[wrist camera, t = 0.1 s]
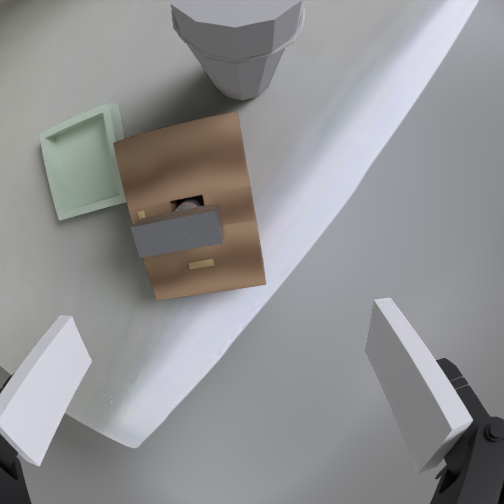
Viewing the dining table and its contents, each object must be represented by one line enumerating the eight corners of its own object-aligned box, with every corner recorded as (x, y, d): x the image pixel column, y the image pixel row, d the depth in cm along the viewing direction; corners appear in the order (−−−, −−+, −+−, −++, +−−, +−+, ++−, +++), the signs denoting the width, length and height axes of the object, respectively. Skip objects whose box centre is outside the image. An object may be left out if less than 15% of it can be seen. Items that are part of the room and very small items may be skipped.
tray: (51, 132, 33) (39, 133, 30) (118, 104, 32) (108, 102, 29) (69, 214, 37) (59, 221, 35) (137, 196, 37) (129, 201, 34)
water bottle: (255, 113, 33) (271, 67, 10) (199, 85, 32) (117, 8, 9) (292, 55, 30) (361, -52, 7) (237, 28, 29) (223, -102, 6)
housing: (132, 140, 34) (112, 142, 28) (238, 115, 33) (236, 111, 28) (167, 278, 42) (156, 300, 36) (263, 263, 41) (266, 285, 35)
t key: (164, 198, 36) (130, 227, 25) (225, 186, 36) (215, 210, 25) (169, 220, 37) (139, 257, 26) (230, 209, 37) (222, 243, 26)
